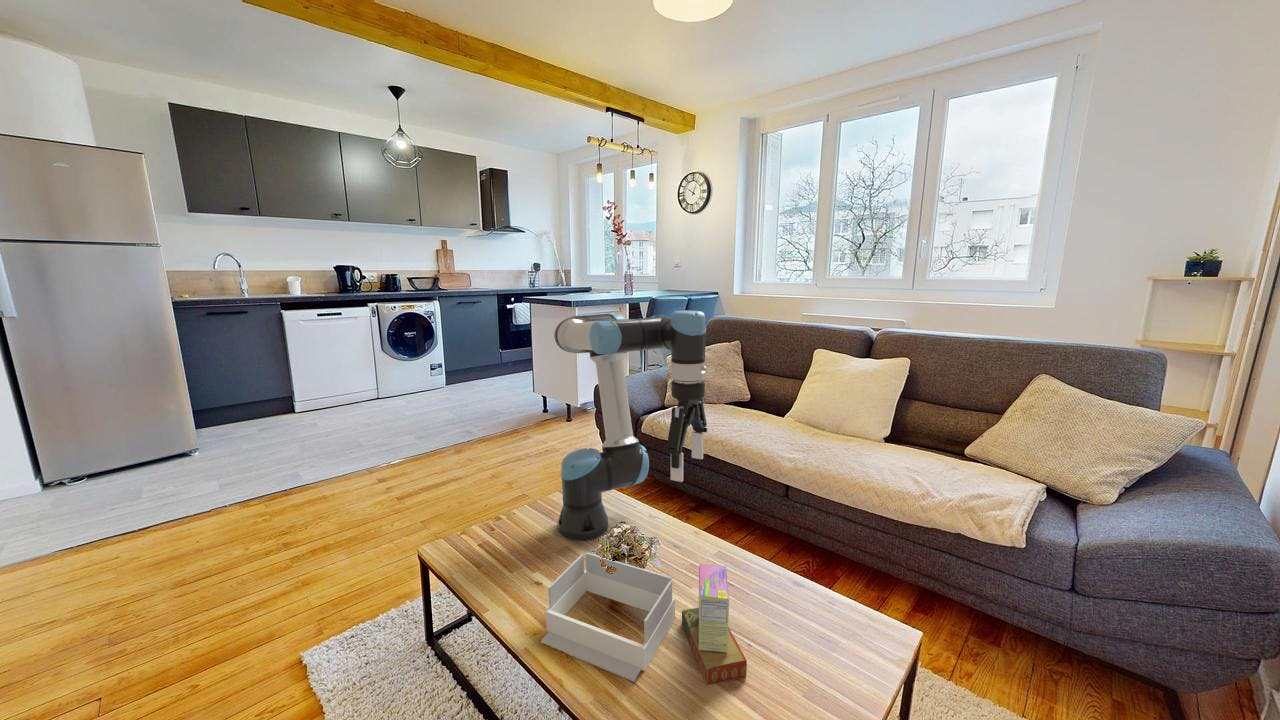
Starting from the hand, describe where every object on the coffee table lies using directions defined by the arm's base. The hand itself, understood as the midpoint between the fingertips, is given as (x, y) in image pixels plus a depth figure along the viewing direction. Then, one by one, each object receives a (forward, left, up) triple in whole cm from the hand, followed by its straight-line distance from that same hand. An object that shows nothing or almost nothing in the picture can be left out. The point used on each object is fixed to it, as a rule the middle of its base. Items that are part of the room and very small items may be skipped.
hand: (687, 468), depth 108 cm
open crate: (-10, -20, -31) cm, 38 cm away
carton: (+11, -16, -31) cm, 37 cm away
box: (+11, -16, -27) cm, 33 cm away
